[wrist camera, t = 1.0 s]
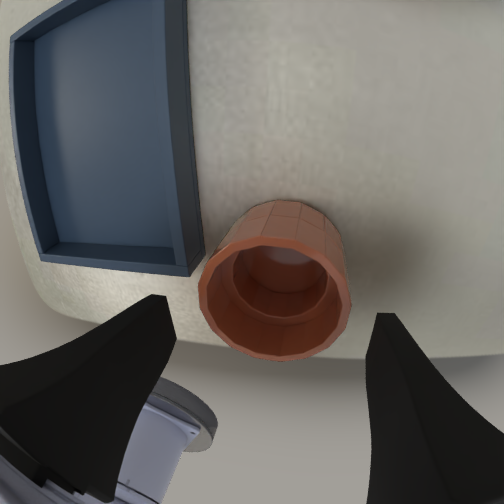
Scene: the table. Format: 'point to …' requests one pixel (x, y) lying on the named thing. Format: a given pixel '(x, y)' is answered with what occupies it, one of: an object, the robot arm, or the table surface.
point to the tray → (107, 135)
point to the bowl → (277, 283)
